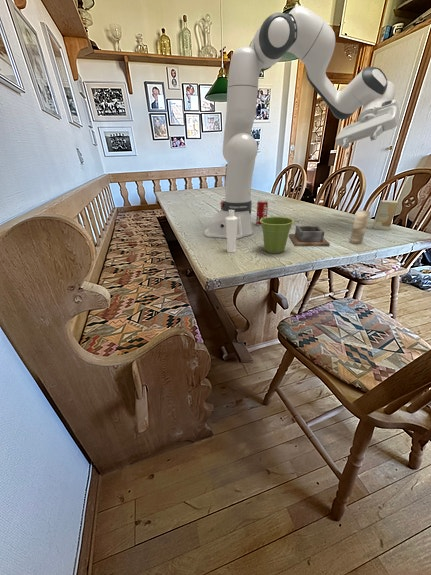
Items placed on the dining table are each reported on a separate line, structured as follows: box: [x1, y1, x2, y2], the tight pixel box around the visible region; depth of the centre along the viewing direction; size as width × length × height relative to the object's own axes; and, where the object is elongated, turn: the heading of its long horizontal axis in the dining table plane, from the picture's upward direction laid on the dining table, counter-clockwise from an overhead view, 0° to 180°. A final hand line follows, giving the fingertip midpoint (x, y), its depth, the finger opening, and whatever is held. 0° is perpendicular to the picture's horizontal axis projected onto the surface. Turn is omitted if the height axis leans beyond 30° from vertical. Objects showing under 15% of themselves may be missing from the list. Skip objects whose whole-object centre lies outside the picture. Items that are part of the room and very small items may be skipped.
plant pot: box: [260, 216, 295, 254], centre depth 90 cm, size 12×12×11 cm
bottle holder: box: [288, 225, 330, 247], centre depth 100 cm, size 13×13×5 cm
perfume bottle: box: [225, 210, 238, 253], centre depth 90 cm, size 5×4×15 cm
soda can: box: [255, 199, 269, 227], centre depth 122 cm, size 5×5×12 cm
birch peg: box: [349, 209, 371, 245], centre depth 95 cm, size 4×4×12 cm
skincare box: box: [372, 199, 399, 231], centre depth 111 cm, size 6×4×12 cm
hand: (358, 143), depth 89 cm, fingers open, 8 cm apart
